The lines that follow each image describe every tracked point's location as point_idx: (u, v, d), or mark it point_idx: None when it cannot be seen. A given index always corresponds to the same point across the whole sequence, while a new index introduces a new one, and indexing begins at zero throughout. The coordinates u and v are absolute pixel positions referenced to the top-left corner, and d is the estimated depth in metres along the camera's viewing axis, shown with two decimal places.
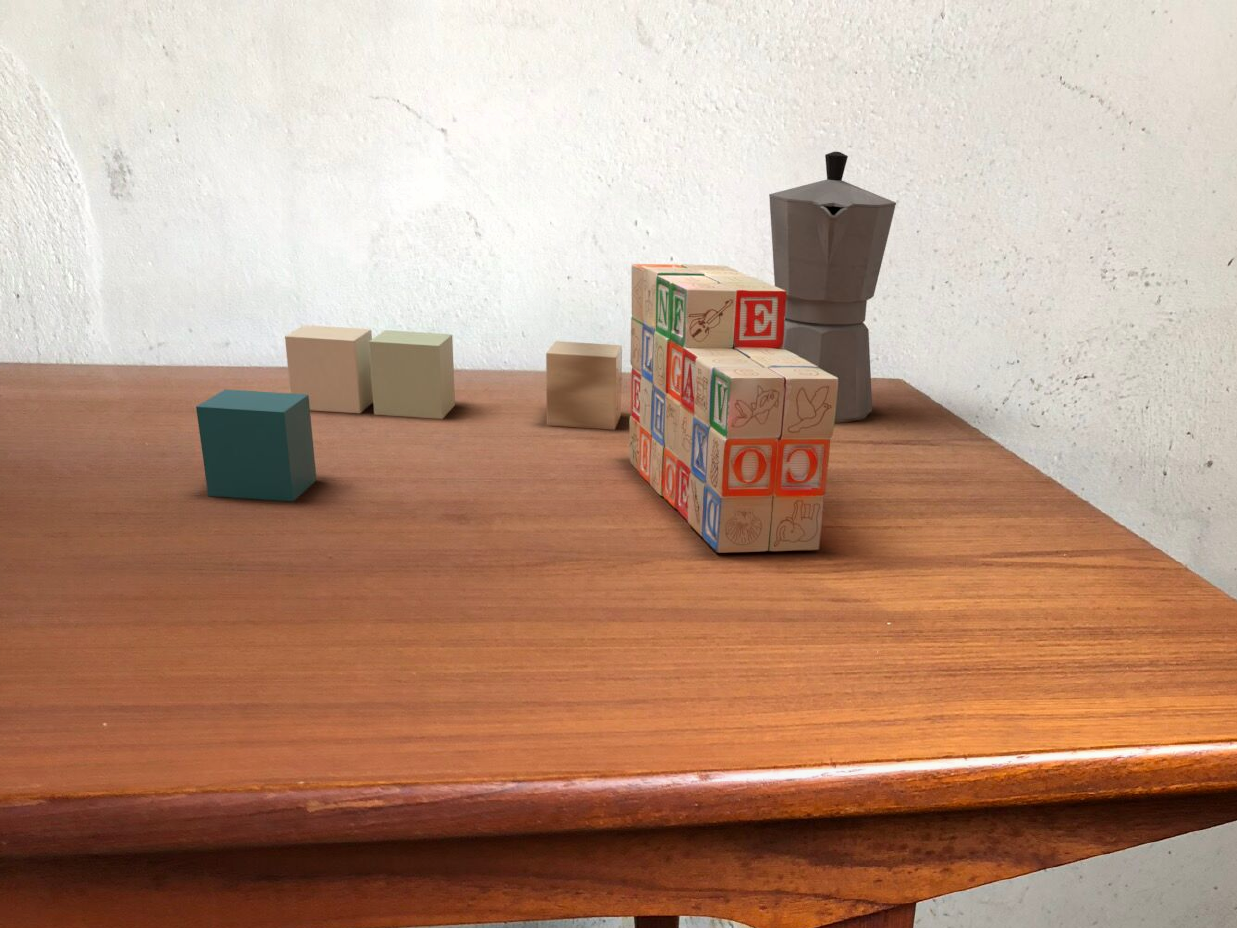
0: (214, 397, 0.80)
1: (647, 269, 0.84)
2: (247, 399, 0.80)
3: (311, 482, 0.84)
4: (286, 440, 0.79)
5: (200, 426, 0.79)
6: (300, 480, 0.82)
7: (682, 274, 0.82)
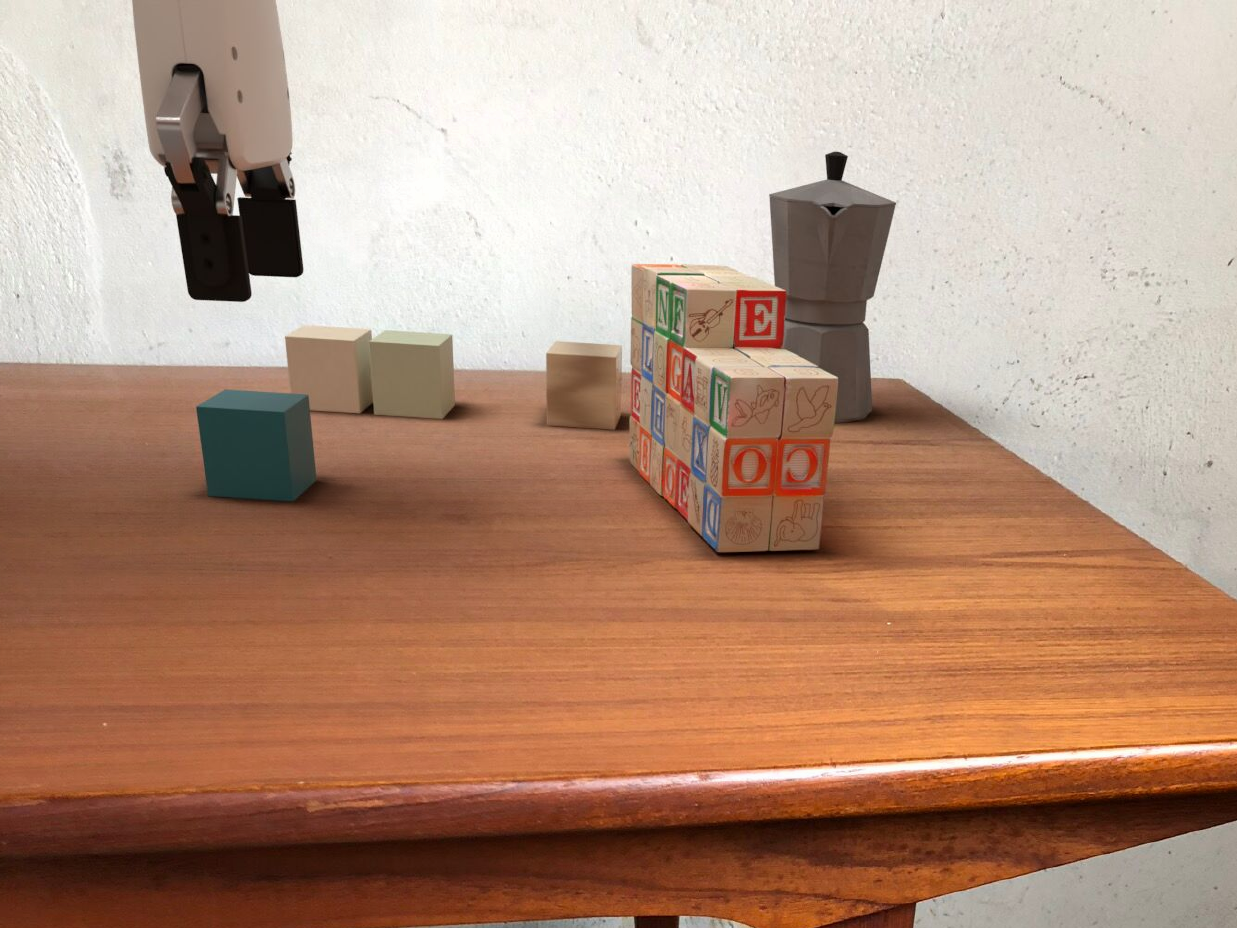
0: (214, 397, 0.80)
1: (647, 269, 0.84)
2: (247, 399, 0.80)
3: (311, 482, 0.84)
4: (286, 440, 0.79)
5: (200, 426, 0.79)
6: (300, 480, 0.82)
7: (682, 274, 0.82)
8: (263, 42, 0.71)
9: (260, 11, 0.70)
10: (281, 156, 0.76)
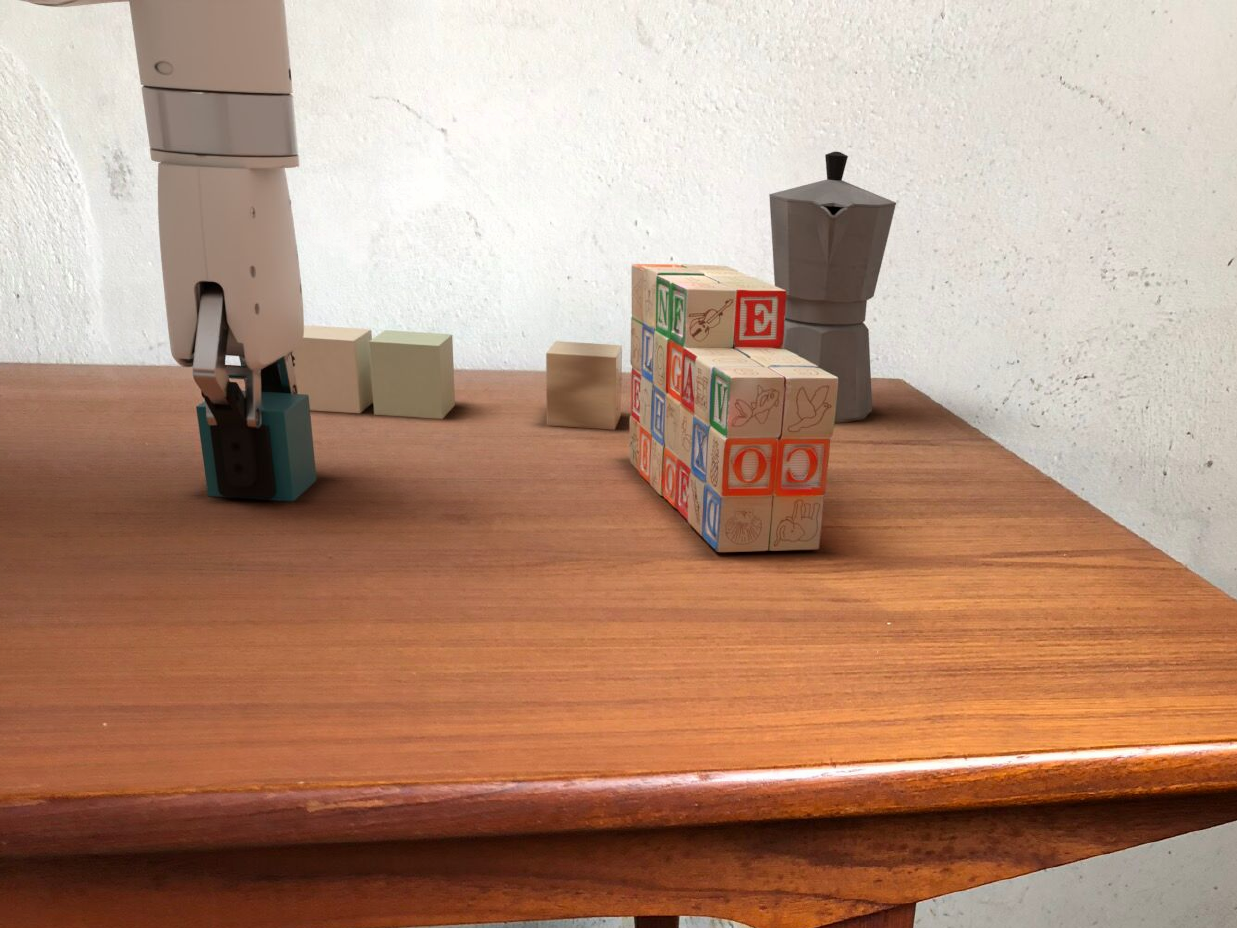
0: None
1: (647, 269, 0.84)
2: None
3: (311, 482, 0.84)
4: (286, 440, 0.79)
5: (200, 426, 0.79)
6: (300, 480, 0.82)
7: (682, 274, 0.82)
8: (279, 253, 0.76)
9: (277, 226, 0.75)
10: (293, 347, 0.81)
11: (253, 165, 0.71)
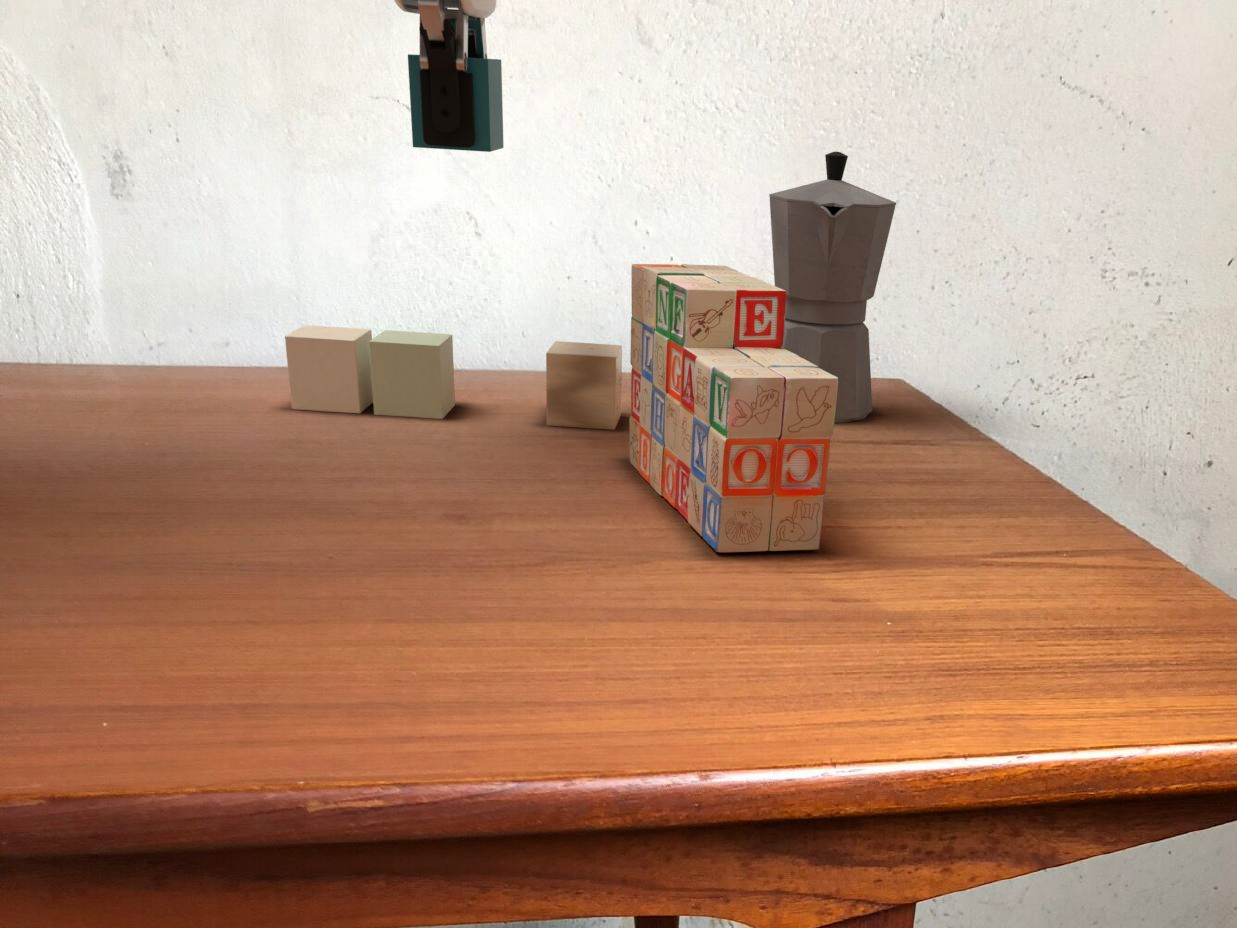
0: None
1: (647, 269, 0.84)
2: None
3: (500, 146, 0.92)
4: (487, 88, 0.87)
5: (410, 75, 0.86)
6: (494, 136, 0.90)
7: (682, 274, 0.82)
8: None
9: None
10: (490, 10, 0.88)
11: None
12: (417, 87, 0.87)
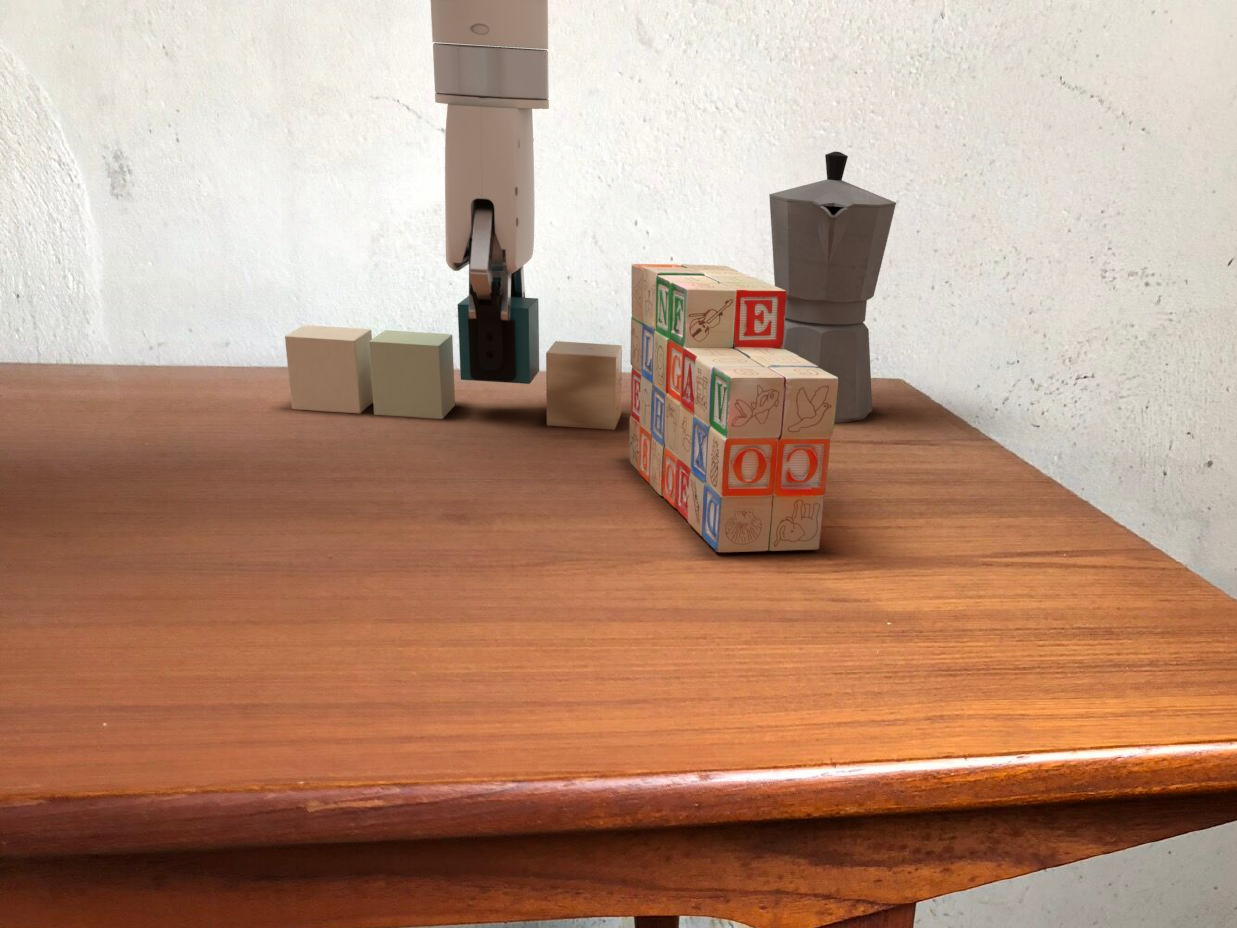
0: (466, 299, 0.99)
1: (647, 269, 0.84)
2: None
3: (537, 371, 1.03)
4: (528, 332, 0.98)
5: (459, 320, 0.98)
6: (533, 367, 1.01)
7: (682, 274, 0.82)
8: (529, 179, 0.95)
9: (529, 157, 0.94)
10: (529, 259, 1.00)
11: (521, 106, 0.90)
12: (465, 331, 0.98)
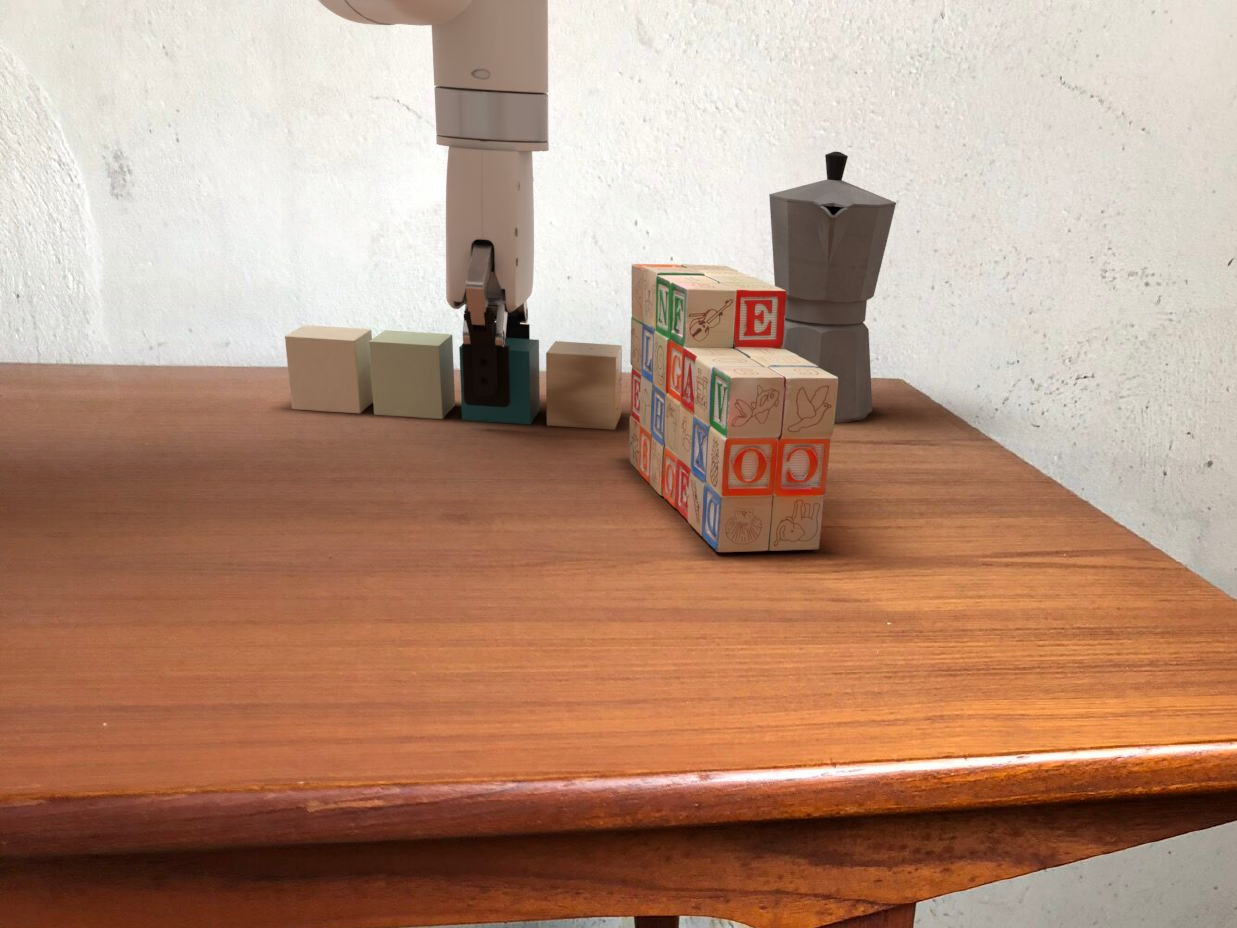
0: None
1: (647, 269, 0.84)
2: None
3: (537, 411, 1.04)
4: (528, 374, 0.99)
5: (461, 363, 0.99)
6: (533, 408, 1.02)
7: (682, 274, 0.82)
8: (529, 219, 0.96)
9: (529, 198, 0.95)
10: (528, 296, 1.01)
11: (521, 148, 0.92)
12: None
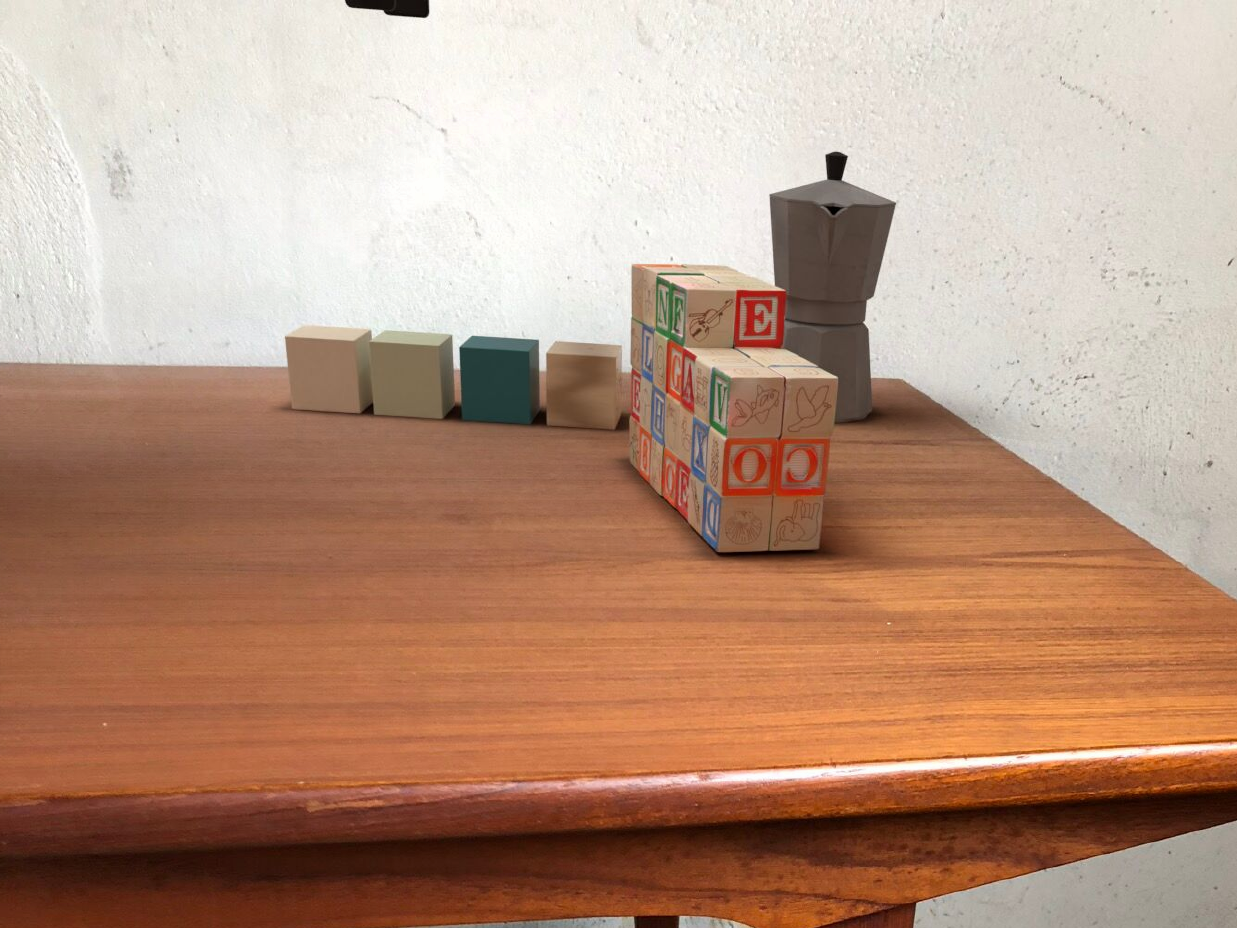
0: (468, 341, 1.01)
1: (647, 269, 0.84)
2: (494, 342, 1.01)
3: (537, 411, 1.04)
4: (528, 374, 0.99)
5: (461, 363, 0.99)
6: (533, 408, 1.02)
7: (682, 274, 0.82)
8: None
9: None
10: None
11: None
12: (467, 373, 0.99)
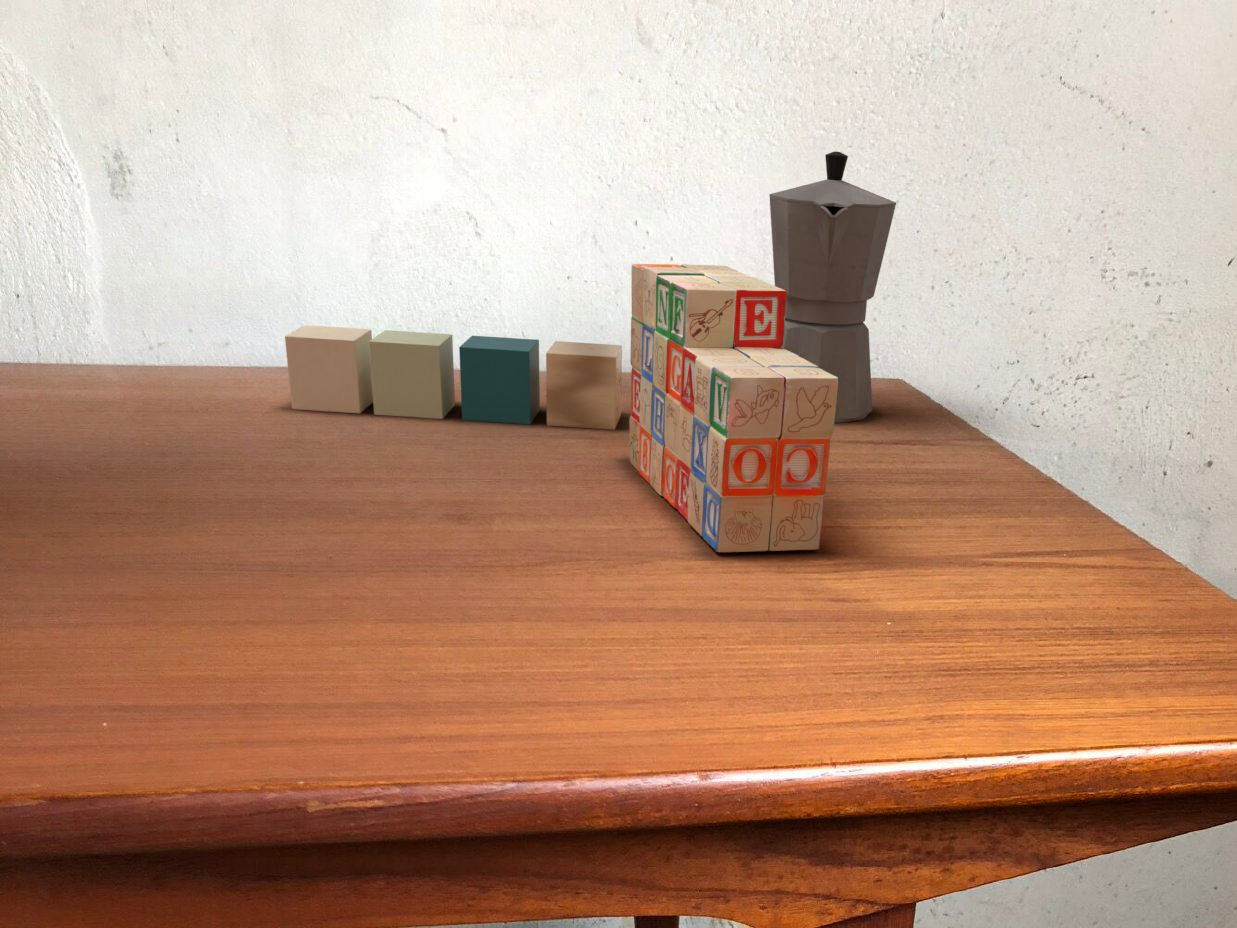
0: (468, 341, 1.01)
1: (647, 269, 0.84)
2: (494, 342, 1.01)
3: (537, 411, 1.04)
4: (528, 374, 0.99)
5: (461, 363, 0.99)
6: (533, 408, 1.02)
7: (682, 274, 0.82)
8: None
9: None
10: None
11: None
12: (467, 373, 0.99)
